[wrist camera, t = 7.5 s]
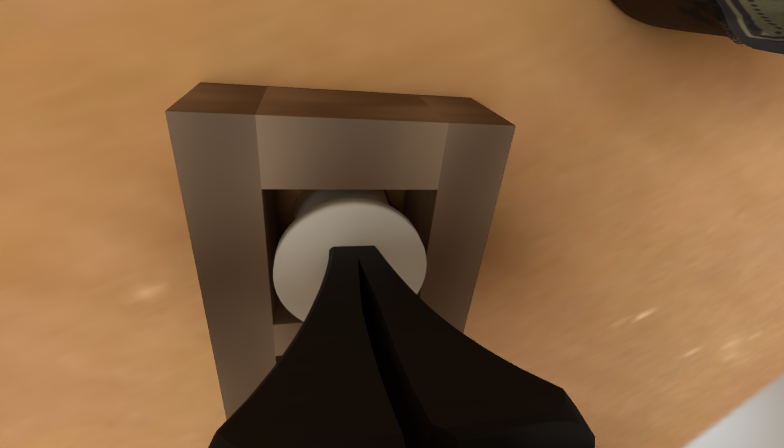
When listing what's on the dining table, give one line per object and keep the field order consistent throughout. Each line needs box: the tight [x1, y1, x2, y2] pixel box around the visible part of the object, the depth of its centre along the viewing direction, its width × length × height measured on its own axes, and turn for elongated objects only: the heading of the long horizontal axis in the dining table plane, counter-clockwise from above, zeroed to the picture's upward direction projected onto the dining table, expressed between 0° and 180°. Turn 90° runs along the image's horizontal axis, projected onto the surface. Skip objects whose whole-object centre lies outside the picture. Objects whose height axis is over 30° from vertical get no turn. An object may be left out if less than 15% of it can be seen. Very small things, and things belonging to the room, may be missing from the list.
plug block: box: [165, 83, 515, 420], centre depth 17 cm, size 9×22×4 cm, turn 175°
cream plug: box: [273, 189, 427, 322], centre depth 13 cm, size 5×5×4 cm
